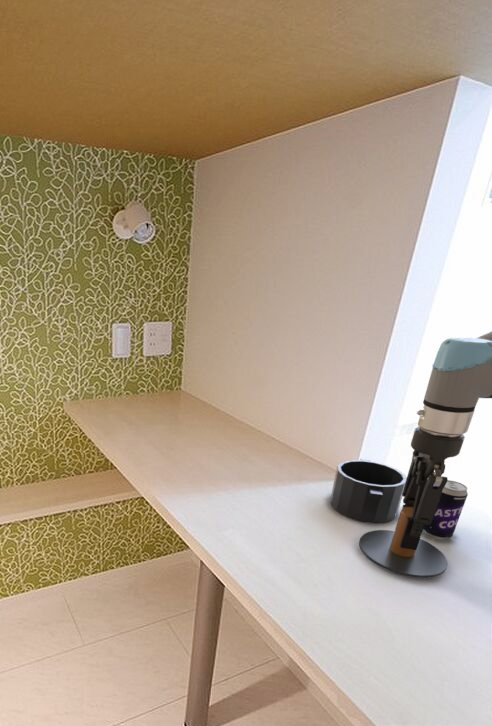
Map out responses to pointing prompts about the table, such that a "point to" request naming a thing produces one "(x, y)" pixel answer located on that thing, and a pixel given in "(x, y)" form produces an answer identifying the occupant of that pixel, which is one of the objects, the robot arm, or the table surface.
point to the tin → (367, 491)
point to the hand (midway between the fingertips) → (405, 540)
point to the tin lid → (402, 552)
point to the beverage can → (447, 511)
